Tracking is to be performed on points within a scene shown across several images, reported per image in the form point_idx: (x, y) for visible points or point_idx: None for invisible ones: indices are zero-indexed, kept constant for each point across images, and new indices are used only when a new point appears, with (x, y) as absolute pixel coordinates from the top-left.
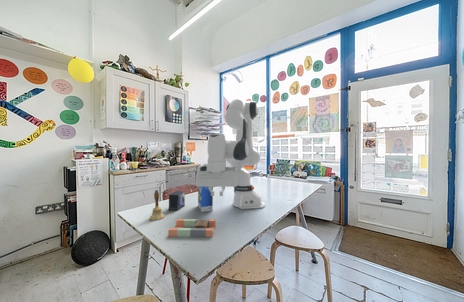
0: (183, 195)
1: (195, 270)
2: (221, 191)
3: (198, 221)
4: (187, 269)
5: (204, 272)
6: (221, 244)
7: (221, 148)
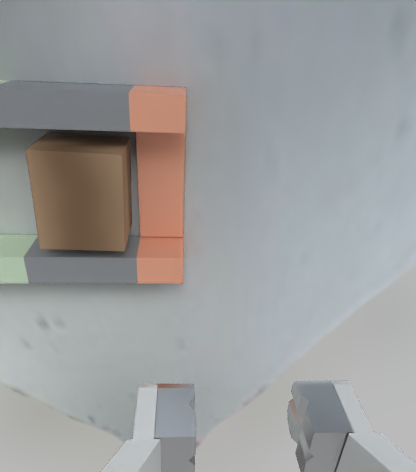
0: None
1: None
2: (345, 435)
3: (40, 179)
4: None
5: None
6: (239, 321)
7: None
